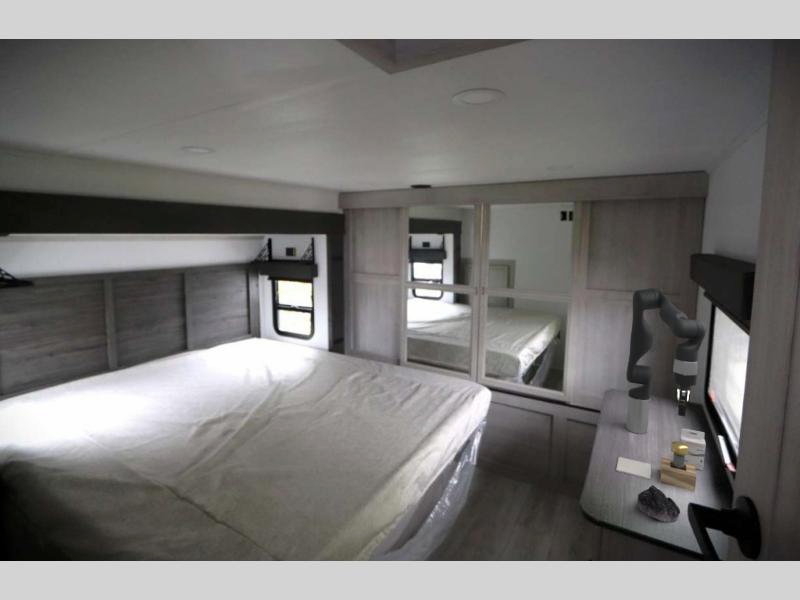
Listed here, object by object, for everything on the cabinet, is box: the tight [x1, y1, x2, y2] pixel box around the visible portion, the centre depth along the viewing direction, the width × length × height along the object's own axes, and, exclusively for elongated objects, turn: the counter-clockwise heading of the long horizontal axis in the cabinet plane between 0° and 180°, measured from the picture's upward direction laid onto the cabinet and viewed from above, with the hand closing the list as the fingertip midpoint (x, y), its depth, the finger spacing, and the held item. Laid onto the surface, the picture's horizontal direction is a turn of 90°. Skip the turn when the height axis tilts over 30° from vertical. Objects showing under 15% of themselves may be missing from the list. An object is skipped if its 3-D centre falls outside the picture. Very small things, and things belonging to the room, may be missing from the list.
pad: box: [615, 456, 652, 480], centre depth 173 cm, size 12×12×1 cm
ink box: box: [679, 427, 707, 471], centre depth 173 cm, size 9×5×15 cm, turn 59°
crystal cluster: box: [637, 484, 681, 523], centre depth 145 cm, size 13×14×10 cm
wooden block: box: [659, 456, 697, 493], centre depth 163 cm, size 11×11×6 cm
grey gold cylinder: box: [670, 440, 689, 470], centre depth 163 cm, size 6×6×15 cm
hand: (681, 411), depth 160 cm, fingers open, 8 cm apart
